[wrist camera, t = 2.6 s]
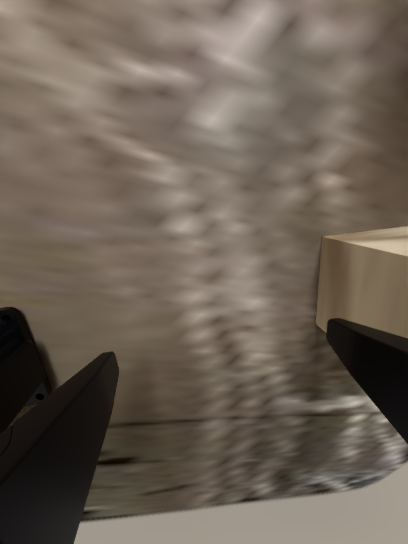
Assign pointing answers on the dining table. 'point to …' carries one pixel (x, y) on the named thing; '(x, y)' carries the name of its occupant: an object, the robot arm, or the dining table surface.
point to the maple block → (365, 279)
